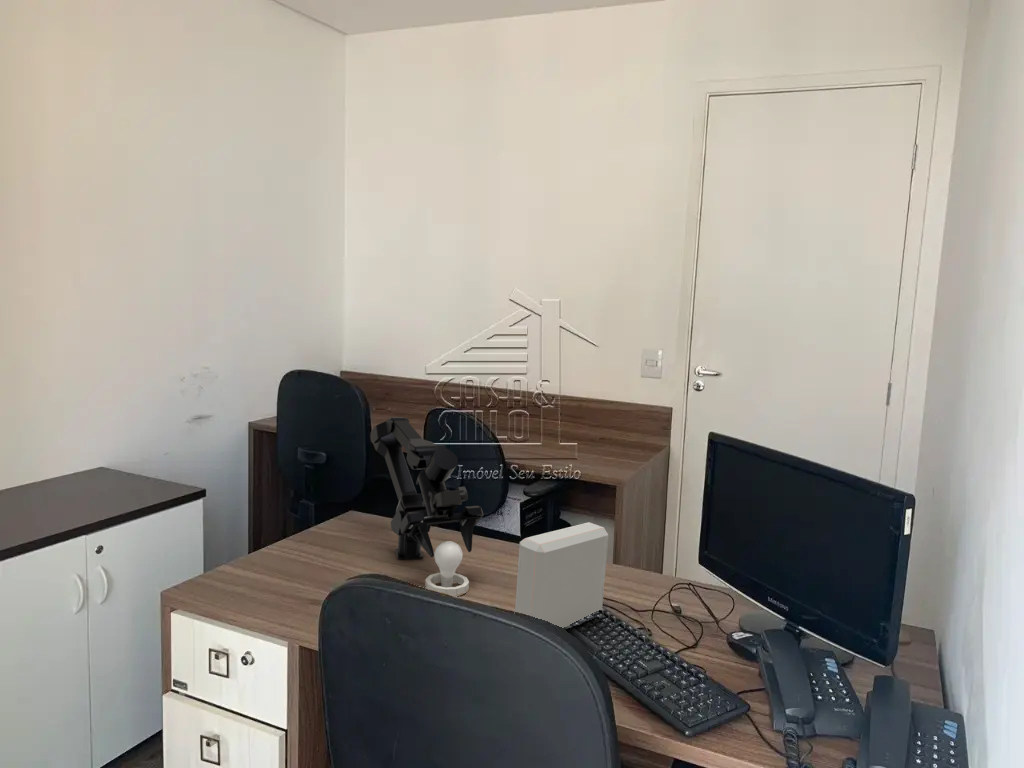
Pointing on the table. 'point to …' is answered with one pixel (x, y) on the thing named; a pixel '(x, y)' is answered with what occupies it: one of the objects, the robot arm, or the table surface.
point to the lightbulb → (448, 561)
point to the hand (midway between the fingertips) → (451, 553)
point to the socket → (450, 590)
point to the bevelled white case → (562, 574)
